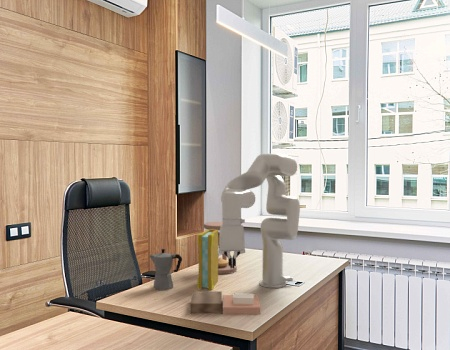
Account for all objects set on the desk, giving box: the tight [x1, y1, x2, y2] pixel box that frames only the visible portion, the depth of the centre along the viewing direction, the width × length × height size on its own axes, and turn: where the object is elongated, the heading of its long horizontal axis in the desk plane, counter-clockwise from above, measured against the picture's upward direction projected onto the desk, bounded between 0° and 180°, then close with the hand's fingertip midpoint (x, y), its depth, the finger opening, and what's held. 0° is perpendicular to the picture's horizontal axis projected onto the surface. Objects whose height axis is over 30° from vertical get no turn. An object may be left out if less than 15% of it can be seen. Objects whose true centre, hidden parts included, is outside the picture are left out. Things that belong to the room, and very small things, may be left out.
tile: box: [233, 292, 255, 304], centre depth 186 cm, size 8×6×2 cm
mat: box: [222, 294, 261, 315], centre depth 187 cm, size 14×16×2 cm
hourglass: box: [203, 221, 238, 275], centre depth 248 cm, size 18×18×25 cm
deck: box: [189, 290, 223, 315], centre depth 187 cm, size 12×16×4 cm
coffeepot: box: [148, 248, 183, 291], centre depth 215 cm, size 15×9×18 cm, turn 85°
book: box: [197, 229, 219, 291], centre depth 220 cm, size 17×7×25 cm, turn 168°
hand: (232, 267), depth 187 cm, fingers closed
